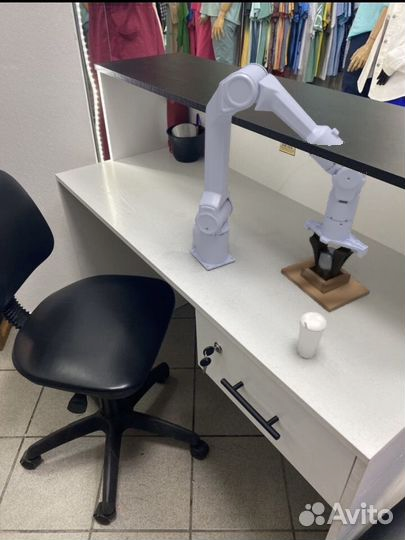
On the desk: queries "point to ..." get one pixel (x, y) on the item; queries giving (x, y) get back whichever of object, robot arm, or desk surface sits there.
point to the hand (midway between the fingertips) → (326, 268)
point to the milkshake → (310, 333)
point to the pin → (325, 263)
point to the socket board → (325, 285)
